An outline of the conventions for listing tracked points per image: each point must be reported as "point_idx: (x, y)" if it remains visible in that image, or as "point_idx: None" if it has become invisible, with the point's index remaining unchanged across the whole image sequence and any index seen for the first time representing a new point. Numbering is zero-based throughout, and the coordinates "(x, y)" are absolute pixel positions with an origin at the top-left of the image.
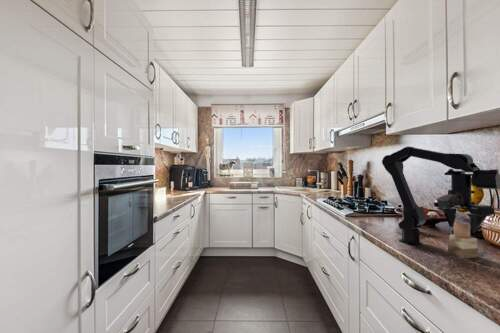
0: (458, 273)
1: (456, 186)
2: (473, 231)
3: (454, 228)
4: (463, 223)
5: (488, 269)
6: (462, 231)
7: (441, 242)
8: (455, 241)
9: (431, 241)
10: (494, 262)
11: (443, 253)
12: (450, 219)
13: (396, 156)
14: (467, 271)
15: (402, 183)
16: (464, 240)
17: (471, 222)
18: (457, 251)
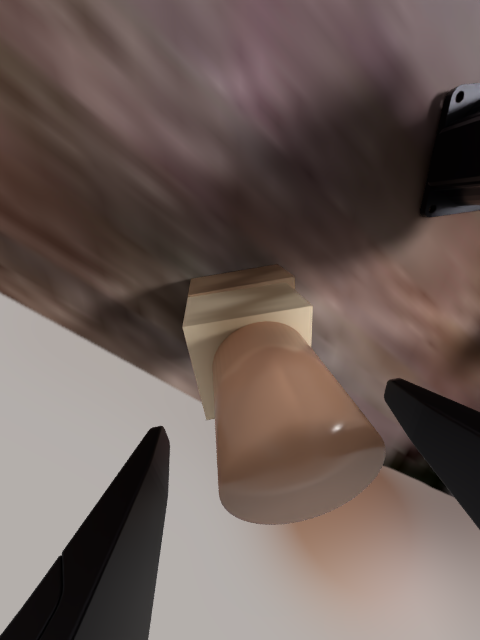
0: None
1: None
2: (144, 444)
3: (302, 362)
4: (278, 485)
5: (31, 285)
6: (225, 383)
7: (404, 333)
8: (247, 299)
9: (433, 299)
10: (146, 369)
11: (265, 226)
12: (470, 454)
13: None
14: None
15: None
16: (187, 332)
17: (80, 583)
18: (223, 280)
